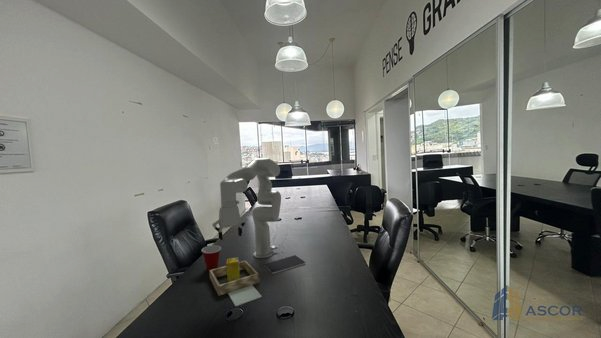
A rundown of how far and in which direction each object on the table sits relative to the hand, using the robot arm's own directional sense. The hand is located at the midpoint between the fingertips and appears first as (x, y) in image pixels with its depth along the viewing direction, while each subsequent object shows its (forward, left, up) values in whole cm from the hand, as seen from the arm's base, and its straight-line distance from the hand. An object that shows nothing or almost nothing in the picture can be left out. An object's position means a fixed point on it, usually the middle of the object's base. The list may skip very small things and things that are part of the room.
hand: (230, 237), depth 125 cm
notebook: (-30, 0, -24) cm, 39 cm away
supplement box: (0, 0, -23) cm, 23 cm away
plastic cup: (+6, -22, -23) cm, 33 cm away
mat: (0, +17, -23) cm, 28 cm away
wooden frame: (0, 0, -23) cm, 23 cm away
